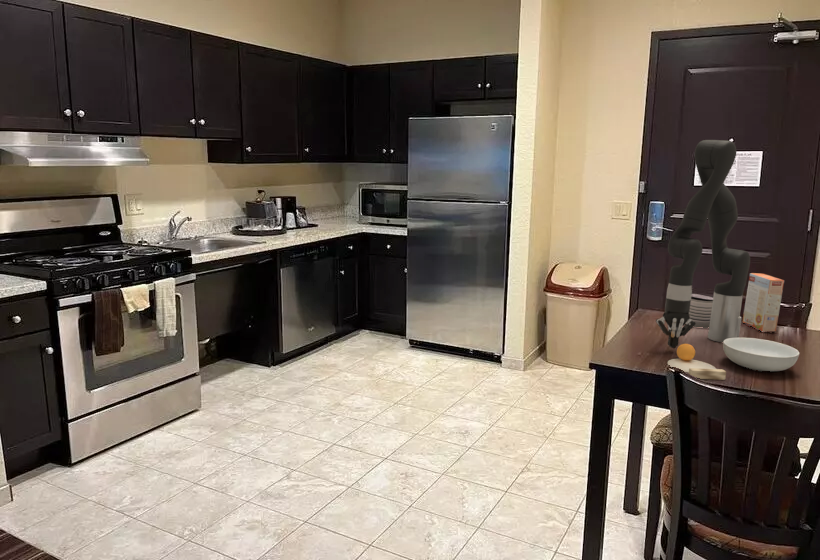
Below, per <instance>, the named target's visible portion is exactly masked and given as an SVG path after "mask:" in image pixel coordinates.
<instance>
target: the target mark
mask: <svg viewBox="0 0 820 560" xmlns="http://www.w3.org/2000/svg"><path fill="white" fill-rule="evenodd" d="M669 365H670V366H669ZM667 366H669V367H671V368H672V367H676V368H679V369H681V370H683V371H684V372H683V371H682V372H683V373H688V374H689V368H696V369H717V368H716V367H715V366H714V365H713V364H710V363H708V362H705V361H701V360H697V359H691V360H689V361H684V360H682V359H680V358H672V359H669V360H668V361H667Z"/></svg>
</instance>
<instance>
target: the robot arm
mask: <svg viewBox="0 0 820 560" xmlns="http://www.w3.org/2000/svg"><path fill="white" fill-rule="evenodd" d="M694 149H695V150H694V163H695V166H696V167H695V168H696V171H697V172H698V173H697V174H698V178H699V180H700V183H701V188H700V189H699V190H697V192H696V193H695V194H694V195H693V196H692V197H691V198H690V200H689V201H688V203H687V205H686V208H685V210H684V214H683V216H682V220H681V222H680V224H679V225H678V226H677V228H676V230H675V231H674V233H673V234H672V235H671V237H670V238H669V240H668V245H667V251H668V253H669V255H670V256H671V257H673V258H675V259H683V260H682V262H681V264H677V265H673V266H671V268H670V272H669V281H668V286H667V289H666V297H665V305H664V313H663V314H662V316H661V317H660V318H657V319H655V322H656V324H657V325H658V326H659V328H660V330H661V331H662V333H663V334H665V335H666V336H668V341H667V345H668V346H669V348H671V349H676V348H677V347H679V340H680V337H682V336H683V337H684V336H686V335H687V333H689V332H690V331H691V330H692V329H693V328H694V327H693V326H694V325H695V324H696V323H695V322H694V321H692V320H691V319H690V316H689V311H690V303H691V297H692V294H693V281H694V280H693V279H694V273H695V271H696V270H697V269H696V268H697V266H698V264H699V262H700V259H701V257H702V255H703V244H702V242H701V241H700V240H699V239H698V238H691V236H692V235H693V234H695V233H701V232H703V231H704V229H705V227H706V223H708V226H709V233H710V234H709V235H710V241H711V256H712V259H711V261H712V267H713V270H715V272H716V273H719V274H723V275H729V276H731V277H730V280H729V281H726V282H720V283H716V284H715V285H714V290H713V296H712V297H713V303H712V310H711V317H710V325H709V328H708V331H707V339H709V340H710V341H712V342H713V341H714V342H718V343H722V342H723V341H724V340H725V339H728V338H740V330H741V326H742V325H741V323H742V320H743V317H742V316H741V310H742V303H743V296H744V291H745V288H746V285H747V279H748V276H749V270H750V265H751V255H750V253H749V252H748V251H746V250H743V249H735V248H729V247H728V245H727V238H728V236H729V234H730V233H731V231H732V229H733V228H734V226H735V225H736V223H737V221H738V217H739V215H738V206H737V201H736V198H735V196H734V194H733V193H732V192H731V190H730V189H729V187H727V185H725V181H726V179H727V177H728V175H729V174H730V171H731V170H732V167H733V165H734V162H735V160H736V157H737V147H736V143H734V141H732V140H723V139H721V140H719V139H705V140H704V139H703V140H701V141H699V142H698V143H697V145H696V147H695V148H694ZM685 323H686V325H685ZM665 324H667V327H666V325H665Z"/></svg>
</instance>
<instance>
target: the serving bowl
mask: <svg viewBox="0 0 820 560" xmlns="http://www.w3.org/2000/svg"><path fill="white" fill-rule="evenodd" d="M722 348H723V353H724V354H725V356H726V357H727V358H728V359H729V360H730V361H731V362H733V363H735V364H737V365H738V366H741V367H744V368H745V367H746V369H748V368H749V369H748V370H751V369H752V371H756V370H758V371H757V372H762V371H770V372H780V371H785V370H788V369H790V368H791V367H793V366H794V365H795V364H796V363H797V361H798V359H799V356H800V352H799V350H798V349H796V348H794V347H793V346H790V345H788V344H786V343H780V342H778V341H773V340H768V339H762V338H755V337H739V338H728V339H725V340H724V341H723V343H722Z"/></svg>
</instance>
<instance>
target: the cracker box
mask: <svg viewBox="0 0 820 560" xmlns="http://www.w3.org/2000/svg"><path fill="white" fill-rule="evenodd" d="M748 277H749V278H748V284H747V289H746V297H745V303H744V308H743V314H742V316H743V317H742V320H741V323H742V322H743V323H747V324H750V325H752V326H753V327H755V328H757V329H759V330H761V331H776V332H777V327H778V321H779V314H780V309H781V304H782V303H781V302H782V296H783V290H784V284H785V280H784V279H781V278H778V277H775V276H772V275H769V274H766V273H756V272H751V273H749V275H748ZM743 323H742V324H743Z"/></svg>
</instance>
